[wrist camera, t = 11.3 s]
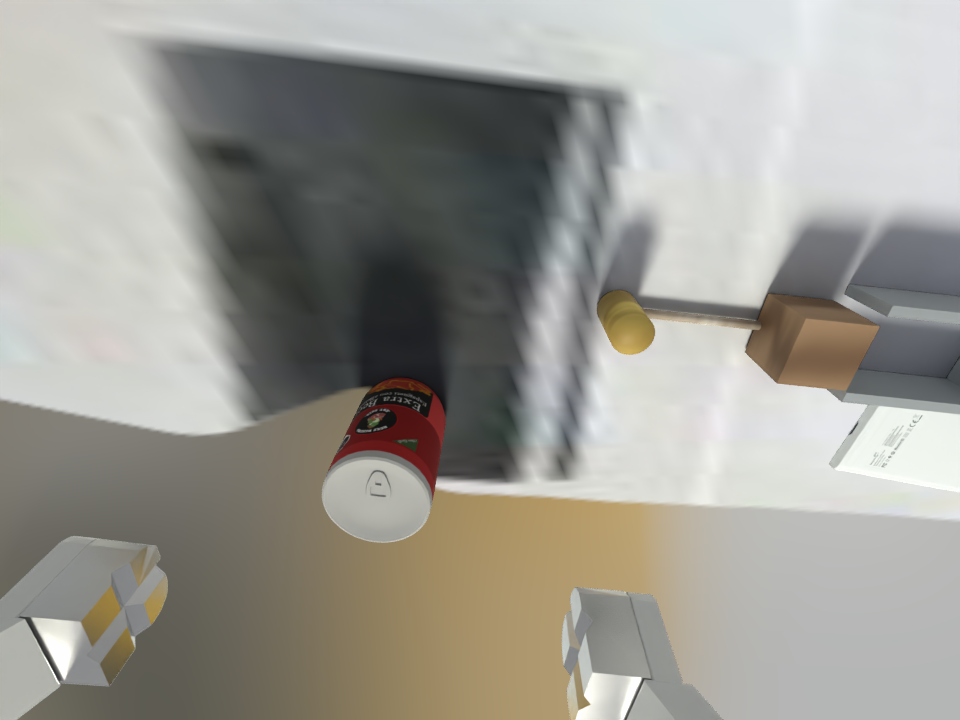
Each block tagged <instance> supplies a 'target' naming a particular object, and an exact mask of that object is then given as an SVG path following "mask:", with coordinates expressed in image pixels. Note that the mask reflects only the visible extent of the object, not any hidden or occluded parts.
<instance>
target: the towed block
mask: <svg viewBox="0 0 960 720" xmlns="http://www.w3.org/2000/svg"><path fill="white" fill-rule="evenodd" d="M597 314H598V317H599V319H600V321H601V323H602V325H603V327H604V329H605V332H606V334H607V336H608V338H609V340H610V342H611V344H612V346H613V347H614V348H615V349H616V350H617V351H618V352H620V353H622V354H627V355H632V354H637V353H640V352H642V351H644V350H645V349H647V348H648V347H649V346H650V344H651V343H652V341H653V339H654V336H655V329H654V325H653V323H652V322H651V321H650V319H659V320H668V321H678V322H687V323H696V324H706V325H715V326H724V327H733V328H743V329H752V330H753V333H752V336H751V338H750V341H749V343H748V346H747V348H746V351H745V353H746V354H747V355H748V356H749V357H750V358H751V359H752V360H753V361H754V362H755V363H757V364H758V365H759V366H760V367H761V368H762V369H763V370H764V371H765V372H766V373H767V374H768V375H769V376H770V377H771V378H772V379H773V380H774V381H775V382H776V383H778V384H787V385H797V386H806V387H816V388H825V389H834V390H844V391H846V390H847V388H848V386H849V384H850V383H851V381H852V379H853V377H854V375H855V373H856V371H857V369H858V367H859V366H860V364H861V362H862V360H863V358H864V356H865V354H866V352H867V350H868V349H869V347H870V345H871V343H872V341H873V339H874V337H875V335H876V333H877V332H878V330H879V328H880V326H878V325H877V324H875V323H873V322H871V321H869V320H868V319H866V318H864V317H862V316H861V315H859V314H857V313H855V312H853V311H852V310H850V309H848V308H846V307H844V306H843V305H841V304H839V303H837V302H835V301H834V300H826V299H816V298H807V297H798V296H789V295H780V294H771V293H768V295H767V298H766V300H765V303H764V305H763V308H762V310H761V313H760V315H759V318H758V320H757V321H754V320H744V319H735V318H726V317H717V316H707V315H698V314H689V313H680V312H670V311H661V310H652V309H643V308H641V307H640V305H639V304H638V303H637V301H636V300H635V299H634V297H633V296H632V295H631V294H630V293H628V292H626V291H623V290H615V291H611V292H609V293H607V294H606V295H604V296H603V297H602V298H601V300H600V301H599V303H598V306H597ZM649 318H650V319H649Z"/></svg>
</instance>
